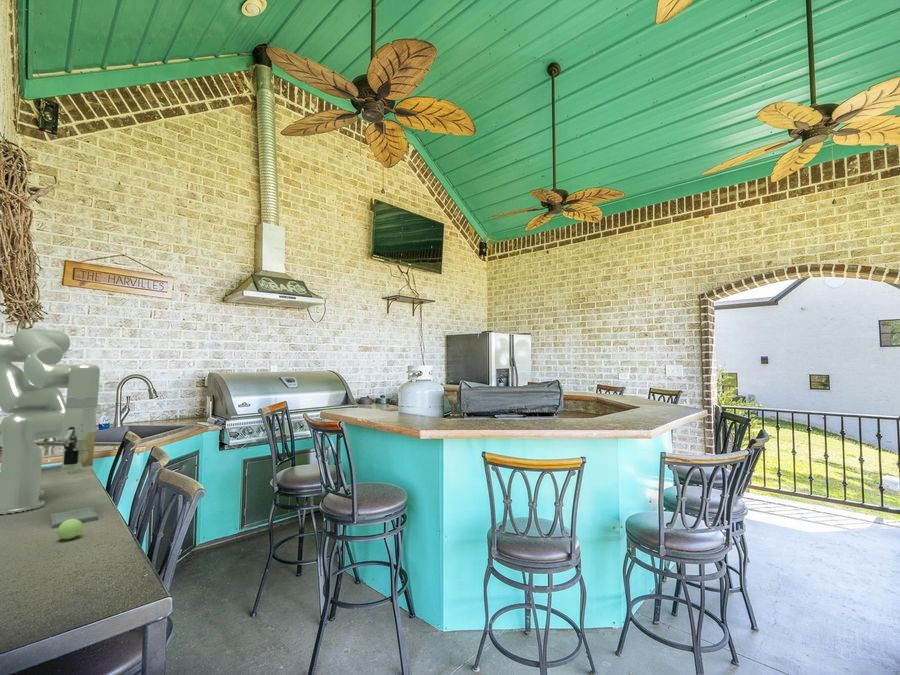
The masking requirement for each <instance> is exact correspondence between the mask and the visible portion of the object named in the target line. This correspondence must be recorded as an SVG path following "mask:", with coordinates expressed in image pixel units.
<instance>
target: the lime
mask: <svg viewBox="0 0 900 675" xmlns="http://www.w3.org/2000/svg"><path fill="white" fill-rule="evenodd" d="M83 526H84V525H83V523H81V521H79V520H77V519H69V520H67V521H65V522H63V523H62V524H61V525H60V526H59V527H57V532H56V533H57V536H58V537H59V539H62V540H67V541H68V540H71V539H74V538H76V537H77V536H78V535H80V534H81V532H82V530H83Z"/></svg>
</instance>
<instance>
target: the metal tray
mask: <svg viewBox="0 0 900 675" xmlns="http://www.w3.org/2000/svg"><path fill="white" fill-rule="evenodd" d="M49 519H50V524H51V528H52V529H56V528H57V529H58V528H59V526H60V525H61V524H62V523H63V522H65V521H67V520H69V519H77V520H79V521H81V523H82V522H83V523H88V522H93V521H92V520H94V521H97V520H99V516H98V514H97V512H96V511H95V509H94V507H93V506H90V507H89V506H88V507H83V508H78V509H72V510H66V511H61V512H54V513H50V514H49ZM87 521H88V522H87ZM83 523H82V524H83Z"/></svg>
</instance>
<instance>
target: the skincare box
mask: <svg viewBox="0 0 900 675" xmlns="http://www.w3.org/2000/svg"><path fill="white" fill-rule="evenodd" d="M76 439H77V438H76V436H75V435H74V438H73V439H71V440H76ZM95 440H96V431H95V432H90V433H88V436H87V438H86V440H84V441H80V442H79V445H78V448H77V450H79V453H78V463H77V464H70V465H64V454H65V451H64V448H65V447H64V446H63V451H62V452H63V453H62V459H61V460H62V461H61V470H60V474H61V475H77V474H81V473H82V474H83V473H87V472H92V471H93V467H94V465H93V464H94V455H95V454H94V453H95V443H96V442H95ZM73 445H75V443H73Z"/></svg>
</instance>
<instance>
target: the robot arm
mask: <svg viewBox="0 0 900 675" xmlns="http://www.w3.org/2000/svg"><path fill="white" fill-rule="evenodd" d="M70 346H71V339H70V336H69V335H68V334H67V333H66V332H64V331H60V330H55V329H54V330H53V329H45V328H44V329H42V328H24V329H20V330H18V331H17V332H15V333H14V334H13V335H12V337H0V409H1V411H2V412H4V413H6V414H10V415H7V416H6V417H4V418H3V419H2V420H1V422H0V438H1V461H0V462H1V463H0V514H3V515H8V514H7V513H12V514H16V513H15V512H19V513H23V512H22V511H24V512H28V511H27V510H29V511H32V510H31V509H33V510H36V509H39V508H42V507H44V506H45V500H42V499H40V497H41V496H43V495H44V494H45V491H44V490H43V489H40V488H41V487H40V486H41V475H42V474H41V473H42V465H43V464H42V462H43V451H42V449H41V448H40V446H38V445H37V443H36V442H35V441H38V440H45V439H53V438H58V437H59V438H60V442H61V443H63V449H64V451H65V454H64V465H70V464H77V463H78V453H79V450H77V448H78V445H79V442H80V441H84V440H86V438H87V436H88V433H90V432H95V433H96V423H97V422H96V421H97V419H96V418H97V417H96V416H97V415H96V409H98V406H99V405H98V404H99V388H100V374H101V369H100V367H99V366H98V365H96V364H95V365H94V364H58V363H60V362H61V360H62V359H63V356H64V354H65V353H66V352H68V350H69V349H70ZM13 363H23V370H22V369H21V368H19V367H18V366H17V365H15V364H13ZM60 389H66V400H65V398H64V396H63V393H62V391H61V390H60ZM74 435H75V436H76V438H77V439H76V440H71V439H73V438H74ZM73 443H75V445H73ZM64 447H65V448H64ZM41 506H42V507H41Z"/></svg>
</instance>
